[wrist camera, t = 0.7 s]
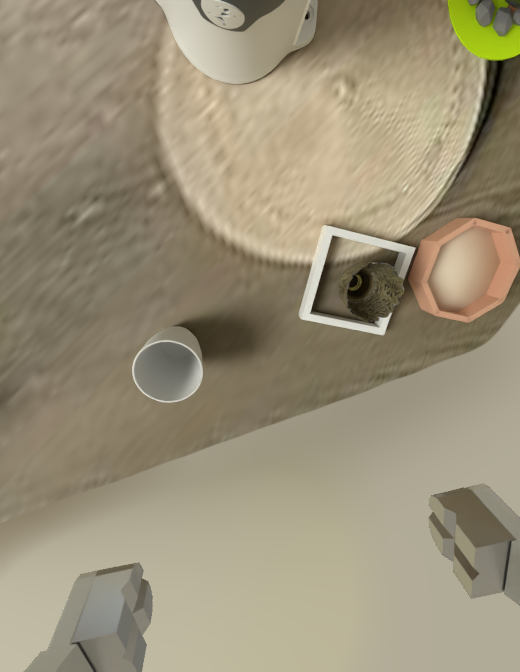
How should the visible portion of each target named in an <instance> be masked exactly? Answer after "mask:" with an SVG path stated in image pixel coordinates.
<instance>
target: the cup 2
mask: <svg viewBox="0 0 520 672" xmlns="http://www.w3.org/2000/svg"><path fill="white" fill-rule="evenodd" d="M395 269H396V268H395V267H392V266H391V265H390V264H388V263H380V262H362V263H358V264H355V265H353V266H351V267H349V268H348V269H347V270H346V271H345V272H344V274H343V275H342V277H341V279H340V282H339V294H340V297H341V299H342V301H343V302H344V304H345V305H346V306H347V308H348V309H349V310H350V311H351V312H352V314H353V315H354V316H355V317H358V318H359V319H361V320H363V321H366V322H368V321H370V320H374V321H379V318H378V317H381V318H386V317H388V316H389V314H390V313H393V312H394V308H395V307H394V305H398V304H400V300H399V298H400V297H401V296H402V295H403V294H404V292H405V289H404V287H403V284H402V283H403V282H404V281H403V278H402V277H399V276H398V275H397V272H396V271H394V270H395ZM353 276H355V277H357V279H358V283H357V285H356V286H354V287H349V282H350V281H351V280H352V278H353Z"/></svg>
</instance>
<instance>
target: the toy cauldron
mask: <svg viewBox="0 0 520 672" xmlns="http://www.w3.org/2000/svg"><path fill="white" fill-rule="evenodd" d="M448 8H449V14H450V19H451V22H452V25H453V27H454V30H455V33H456V34H457V36H458V38H459V39H460V41H461V42H462V44H463V45H464V46H465V47H466V48H467V49H468V50H469V51H470V52H472V53H473V54H475V55H477V56H479V57H480V58H484V59H488V60H504V59H508V58H512V57H515V56H517V55H519V54H520V0H448Z"/></svg>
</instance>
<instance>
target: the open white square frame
mask: <svg viewBox="0 0 520 672" xmlns="http://www.w3.org/2000/svg"><path fill="white" fill-rule="evenodd" d="M332 236H336V237H341V238H345V239H349V240H353V241H357V242H361V243H365V244H369V245H373V246H377V247H381V248H385V249H389V250H393V251H397V252H399V254H398V257H397V260H396V263H395V266H394V267H395V268H396V269H395V270H394V271H396V272H397V275H398V276H399V277H402V278H403V281H404V278H405V276H406V273H407V270H408V267H409V265H410V262H411V259H412V256H413V254H414V251H415V247H411V246H407V245H403V244H399V243H395V242H391V241H387V240H383V239H379V238H375V237H371V236H367V235H363V234H359V233H355V232H351V231H347V230H343V229H339V228H335V227H331V226H327V225H323V227H322V231H321V235H320V238H319V242H318V246H317V249H316V253H315V257H314V260H313V264H312V267H311V271H310V275H309V278H308V282H307V286H306V289H305V293H304V297H303V300H302V304H301V307H300V311H299V315H298V316H299V317H300V318H301V319H303V320H308V321H313V322H318V323H323V324H328V325H334V326H339V327H344V328H349V329H354V330H359V331H364V332H369V333H374V334H380V335H384V333H385V330H386V328H387V325H388V322H389V319H390V317H391V314H392V313H390V314H389V316H388V317H386V318H381V317H378V318H379V321H375V322H374V324H373V323H368V322H363V321H358V320H353V319H348V318H343V317H338V316H333V315H328V314H323V313H318V312H313V311H311V308H312V305H313V301H314V298H315V294H316V291H317V287H318V284H319V280H320V277H321V273H322V270H323V266H324V263H325V259H326V256H327V252H328V249H329V245H330V242H331V238H332ZM402 284H403V283H402ZM394 306H395V305H394Z"/></svg>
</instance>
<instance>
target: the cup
mask: <svg viewBox="0 0 520 672" xmlns="http://www.w3.org/2000/svg"><path fill="white" fill-rule="evenodd" d="M132 374H133V378H134V381H135V383H136V385H137V387H138V388H139V389H140V390H141V391H142V392H143V393H144V394H145V395H146V396H148V397H150V398H151V399H154V400H156V401H160V402H177V401H181V400H184V399H186V398H188V397H189V396H191V395H192V394H193V393H194V392H195V391H196V390H197V389H198V387H199V385H200V383H201V381H202V376H203V363H202V352H201V349H200V346H199V343H198V340H197V339H196V337H195V336H194V335H193V334H192V333H191V332H190V331H189V330H188V329H186V328H184V327H180V326H174V327H168V328H165V329H163V330H161V331H160V332H158V333H157V334H156V335H154V336H153V337H152V338H150V339H149V340H148V342H147V343H146V344H145V345H144V347H143V348H142V349H141V350H140V352H139V353H138V354H137V356H136V357H135V359H134V362H133V367H132Z"/></svg>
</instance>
